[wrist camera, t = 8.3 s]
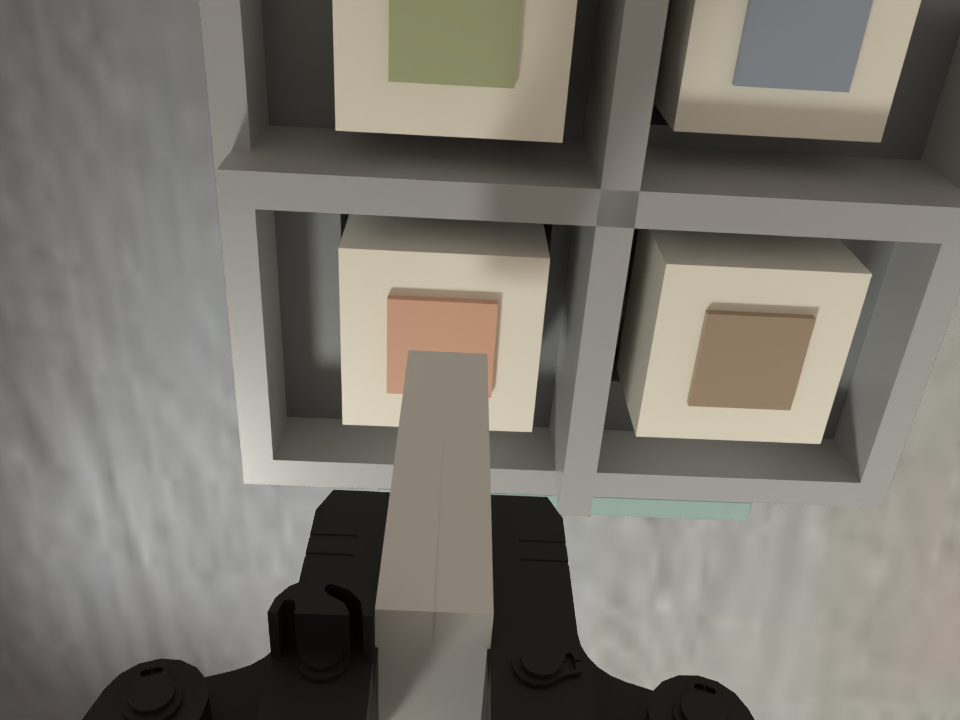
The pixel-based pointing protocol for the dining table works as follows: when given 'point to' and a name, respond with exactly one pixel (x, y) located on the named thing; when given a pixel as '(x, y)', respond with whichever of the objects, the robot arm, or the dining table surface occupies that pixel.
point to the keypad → (576, 258)
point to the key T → (783, 66)
